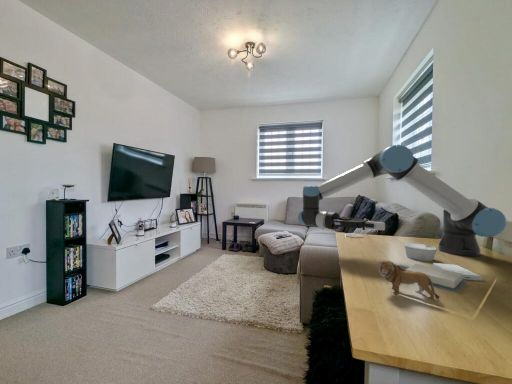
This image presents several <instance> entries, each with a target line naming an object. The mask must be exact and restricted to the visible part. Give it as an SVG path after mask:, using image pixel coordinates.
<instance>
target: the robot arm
mask: <svg viewBox="0 0 512 384" xmlns="http://www.w3.org/2000/svg"><path fill="white" fill-rule="evenodd" d="M383 175H390V176H391V178H393V179H395V180H396V181H404V182H405V183H406V184H408V185H410V186H411V187H412V188H414V189H415V190H416V191H418V192H420V193H421V194H422V195H424V196H425V197H427V198H428V199H430V201H432V202H434V203H435V204H436V205H437V206H439V207H441V208H442V209H443V210H442V212H443V224H442V225H443V228H442V229H443V231H442V237H441V238H440V241H439V242H438V250H439V251H440V252H443V253H447V254H452V255H458V256H467V257H479V256H481V251H482V250H481V248H480V245H479V242H478V240H477V237H476V236H479V237H482V238H483V237H485V238H491V237H492V238H493V237H496V236H499V235H500V234H501V233H502V232H503V231H504V230H505V228H506V226H507V225H506V224H507V222H506V221H507V218H506V216H505V214H504V212H502V211H501V210H499V209H497V208H495V207H494V208H493V207H488V206H486V205H485V204H484V203H482V202H480V201H479V200H477V199H476V198H467V197H466V196H464V195H463V194H462V193H460V192H459V191H458V190H456V189H455V188H453V187H451V186H450V185H449V184H447V183H446V182H444V181H443V180H441V179H440V178H438V177H437V176H436V175H434V174H433V173H432V172H430V171H428V170H427V169H425V168H424V167H423V166H421V165H420V161H419V159H418V158H417V157H415V156H414V154H413V151H411V148H408V147H407V146H405V145H401V144H393V145H390V146H386V147H385V148H384V149H382V150H380V151H377V153H375V154H374V155H372V156H371V157H369V158H367V159H366V160H364V161H362V163H361V164H359V165H358V166H356V167H354V168H352V169H350V170H347V171H345V172H343V173H341V174H339V175H337V176H335V177H333V178H331V179H328V180H327V181H325V182H322V183H320V184H318V185H305V186H303V188H302V210H300V211H299V213H298V215H297V220H298V223H299V224H300V225H302V226H306V227H313V228H321V229H322V230H325V229H327V230H334V231H336V230H338V229H339V228H350V229H351V228H352V229H362V231H365V230H366V229H368V230H369V229H370V230H374V231H375V230H376V231H385V230H386V222H381V221H371V220H369V219H368V218H367V219H360V218H359V219H358V218H353V217H346V216H340V214H339V213H338V212H335V211H333V212H331V211H325V210H324V211H322V210H320V201H322V200H324V199H326V198H328V197H330V196H332V195H335V194H337V193H339V192H341V191H344V190H345V189H347V188H349V187H352V186H354V185H356V184H358V183H361V182H363V181H365V180H367V179H374V178H378V177H379V176H383Z"/></svg>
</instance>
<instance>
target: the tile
mask: <svg viewBox="0 0 512 384" xmlns="http://www.w3.org/2000/svg"><path fill="white" fill-rule="evenodd" d="M408 267H409V268H407V269H406V271H409V272H422V273H424V274H426V275H427V276H428V277H429V278H430V279H431V281H432V284H435V285H439V286H442V287H446V288H450V289H454V288H455V287H456V286H457V285H458V284H459V283H460V282H461V281H462V280H463V279H462V273H457V272H453V271H448V270H444V269H439V268H435V267H433V266H430V265H429V266H428V265H424V264H420V263H415V264H412V265H411V266H408ZM428 283H429V281H428Z"/></svg>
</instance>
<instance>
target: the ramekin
mask: <svg viewBox="0 0 512 384" xmlns="http://www.w3.org/2000/svg"><path fill="white" fill-rule="evenodd" d="M404 249H405V255H406V257H407V258H408V259H411V260H415V261H420V262H433V261H434V260H435V255H436V252H437V248H436V247H435V246H432V245H428V244H423V243H414V242H413V243H412V242H409V243H405V244H404Z"/></svg>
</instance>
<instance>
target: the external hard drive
mask: <svg viewBox="0 0 512 384" xmlns="http://www.w3.org/2000/svg"><path fill="white" fill-rule="evenodd" d="M432 267H434V268H439V269H444V270H448V271H453V272H457V273H462V280H466V281H468V280H469V281H480V282H482V281H483V276H481V275H480V274H478V273H475V272H473V271H471V270H469V269H467V268H465V267H462V266H460V265H458V264H452V263H440V262H439V263H437V262H433V263H432Z"/></svg>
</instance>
